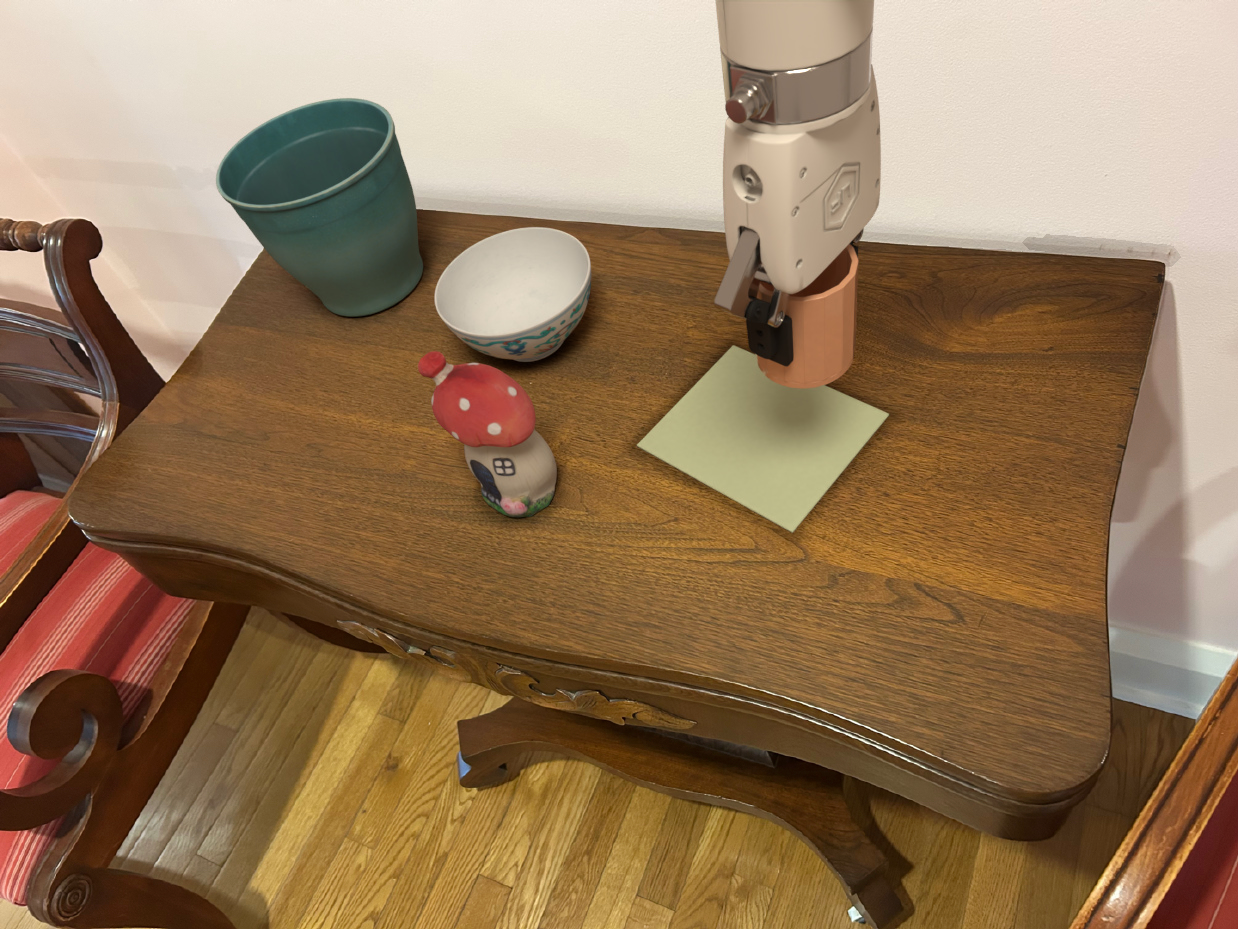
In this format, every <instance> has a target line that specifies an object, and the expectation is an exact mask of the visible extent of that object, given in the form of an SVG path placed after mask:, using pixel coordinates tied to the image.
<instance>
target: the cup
mask: <svg viewBox="0 0 1238 929" xmlns="http://www.w3.org/2000/svg"><path fill="white" fill-rule="evenodd" d="M859 262H860V261H859V257H858V258H857V255H856V253H855V250H854V248H853V246H851V245H850V244H848V245H847V247H846V248H845V249H844V250H843V251H842V252H841V253H840V254H839V255H838V256H837V257H836V258H835V259H834V260H833V261H832V262H831V263H830V264H829V266H828V267H827V268H826V269H825V270H824V271H823V272H822V273H821V274H820V275H819V276H818V277H817V278H816V279H815V280H814V281H813V282H812V283H811V284H809V285H808V286H807V287H806V288H804V289H803V290H801V291H799V292H797V293H794V294H790V296H789V301H788V305H787V309H786V313H785V315H788V316H790V317H791V318H792V330H793V353H794V357H793V361H792V363H791V364H790V365H789V366H783V365H781V364H778V363H776V362H774V361H772V360H769V359H764V358H762V357H760V356H758V355H757V354H755V355H756V361H757V364H758V366H759V368H760V370H761V371H762V373H763V374H764V375H765V376H766V377H767V378H769V379H770V380H772V381H773V382H775V383H777V384H780V385H782V386H786V387H790V388H799V389H805V388H815V387H819V386H823V385H825V386H827V385H828V384H831V383H832V382H835V381H837V380H838V379H840V378H841V377H842V376H843V375H844V374H845V373H846V372H848V370H849V369H850V367H851V366H852V364H853V362H854V359H855V352H856V345H857V322H858V321H857V320H858V291H859V290H858V289H859ZM762 265H763V264H762ZM773 291H774V286H773V285H771V284H768V283H765V282H763V281H760V285H759V289H758V294H757V298H758V299H761V300H763V301H766V302H768V303H771V300H772V295H773Z"/></svg>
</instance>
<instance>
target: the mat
mask: <svg viewBox="0 0 1238 929" xmlns="http://www.w3.org/2000/svg"><path fill="white" fill-rule="evenodd" d="M889 416H890V413H888V412H886V411H884V410H881V409H879V408H877V407H875V406H873V405H871V404H868V403H866V402H863V401H861V400H860V399H859V400H858V399H856V398H855V397H852V396H850V395H848V394H845V393H843V392H841V391H839V390H836V389H834V388H832V387H830V386H827V385H823V386H819V387H815V388H805V389H799V388H790V387H786V386H782V385H780V384H777V383H775V382H773V381H772V380H770V379H769V378H767V377H766V376H765V375H764V374H763V373H762V371H761V370H760V368H759V366H758V364H757V361H756V354H755V353H753V352H750V351H748V350H746V349H743V348H741V347H739V346H736V345H732V346H731V347H730V348H729V349H728V350H727V351H726V352H725V353H724V354H723V355H722V356H721V357H720V358H719V359H718V360H717V361H716V362H715V363H714V365H712V366H711V367H710V368H709V370H708V371H707V372H706V373H704V375H703V376H702V377H701V378H699V380H698V381H697V382H696V383H695V384H694V385H693V386H692V387H691V388H690V389H689V391H687V392H686V394H685V395H683V396H682V397H681V398H680V399H679V401H678V402H677V403H676V404H675V405H674V406H673V407H672V408H671V409H670V410H669V411H668V412H667V413H666V414H665V415H664V416H663V417H662V418H661V419H660V420H659V422H658V423H656V425H655V426H653V428H652V429H651V430H650V431H648V432H647V434H646V435H645V436H644V437H643V438H641V440H640V441H639V442H638V443H637V444H636V447H637V448H639V449H640V450H642V451H644V452H646V453H648V454H650V455H651V456H653V457H655V458H657V459H658V460H661V461H662V462H664V463H666V464H667V465H670V466H671V467H673V468H675V469H677V470H678V471H680V472H681V473H684V474H685V475H687V476H689V477H691V478H692V479H694V480H696V481H698V482H700V483H701V484H703V485H705V486H707V487H709V488H710V489H712V490H714V491H716V492H718V493H720V494H721V495H723V496H725V497H726V498H729V499H730V500H732V501H734V502H736V503H738V504H739V505H741V506H743V507H744V508H746V509H748V510H750V511H752V512H754V513H755V514H757V515H759V516H761V517H762V518H764V519H766V520H768V521H770V522H771V523H773V524H775V525H776V526H779V527H780V528H782V529H785V530H786V531H787V532H789V533H791V534H793V533H794V532H795V531H796V530H797V529H798V528H799V526H800V525H801V524H802V523H803V521H804V520H805V519H806V517H807V516H808V515H809V514H810V513H811V512H812V510H814V508H815V507H816V505H817V504H818V503H819V502H820V501H821V500H822V498H823V497H824V496H825V495H826V494H827V492H828V491H829V490H830V488H831V487H832V486H833V485H834V484H835V482H836V481H837V480H838V479H839V477H840V476H841V475H842V474H843V473H844V471H845V470H846V469H847V468H848V466H849V465H850V464H851V462H852V461H853V460H854V459H855V458H856V457H857V455H859V453H860V452H861V450H862V449H863V448H864V447H865V446H866V445H867V443H868V442H869V441H870V440H871V438H873V436H874V435H875V434H876V432H877V431H878V429H879V428H880V427H881V426H882V425H883V423H884V422H885V421H886V420H887V418H888V417H889Z"/></svg>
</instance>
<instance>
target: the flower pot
mask: <svg viewBox="0 0 1238 929" xmlns="http://www.w3.org/2000/svg"><path fill="white" fill-rule="evenodd" d="M215 184H216V185H215V186H216V188H217V191H218V193H219V195H220V196H221V197H222V199H223V200H225V201H226V202H227V203H228V204H230V206H231V207H232V209H233V210H234V211H235V212H236V214H237V215H238V217H239V218H240V219H241V220H242V221H243V222H244V224H245V225H246V226H247V227H248V229H249V231H250V232H251V233H252V234H253V236H254V237H255V238H256V240H257V241H258V242H259V244H260V245H261V246H262V247H263V249H264V250H265V251H266V252H267V253H268V255H269V256H270V257H271V258H272V259H273V260H274V261H275V263H277V264H278V265H279V266H280V267H281V268H282V269H283V270H284V271H285V272H286V273H288V274H289V275H290V276H292V277H293V278H294V279H295V280H297V281H298V282H299V283H301V285H303V286H305V287H306V288H307V289H308V290H310V291H311V292H312V293H313V294H314V295H316V297H318V298H319V300H320V301H321V303H322V304H323V306H324V307H325V308H326V309H327V310H328V311H329V312H331V313H333V314H335V315H339V316H341V317H342V316H343V317H349V318H350V317H351V318H352V317H354V318H355V317H363V316H364V317H365V316H370V315H373V314H376V313H380V312H382V311H385V310H386V309H390V308H391V307H393V306H395V305H396V304H398V303H399V302H401V301H402V300H403V299H405V298H406V297H407V296H408V295H410V294H411V292H412V291H413V290H414V289H415V288H416V286H417V285H418V283H419V282H420V280H421V278H422V276H423V272H424V262H423V259H422V256H421V253H420V247H419V234H418V213H417V205H416V199H415V198H416V197H415V193H414V190H413V185H412V182H411V179H410V175H409V172H408V170H407V167H406V162H405V160H404V158H403V155H402V150H401V145H400V143H399V140H398V136H397V134H396V125H395V122H394V118H393V117H392V115H391V113H390V112H389V110H388V109H387V108H386V107H384V106H382V105H381V104H379V103H377V102H374V101H371V100H368V99H364V98H355V97H354V98H353V97H343V98H341V97H340V98H332V99H325V100H321V101H315V102H310V103H306V104H304V105H301V106H297V107H295V108H292V109H290V110H288V111H285V112H283V113H281V114H279V115H276V116H274V117H272V118H270V119H269V120H266V121H264V122H263V123H261V124H260V125H258V126H257V127H255V128H254V129H252V130H250V131H249V132H248V133H247V134H245V135H244V136H243V137H241V138H240V139H239V140H238V141H236V142H235V144H233V145H232V147H231V148H230V149H229V150H228V151H227V153H226V154H225V155H224V156H223V158H222V160H221V162H220V163H219V165H218V167H217V171H216V175H215Z"/></svg>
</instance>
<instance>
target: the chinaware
mask: <svg viewBox="0 0 1238 929" xmlns="http://www.w3.org/2000/svg"><path fill="white" fill-rule="evenodd" d="M591 288H592V264H591V258H590V255H589V252H588V250H587V248H586V247H585V245H584V244H583V243H582V241H580V240H579V239H577V238H576V237H575V236H573V235H572V234H570V233H567V232H565V231H562V230H561V229H560V230H559V229H555V228H552V227H551V228H550V227H542V226H541V227H540V226H530V227H528V226H527V227H520V228H515V229H509V230H505V231H502V232H499V233H495V234H493V235H491V236H489V237H486V238H484V239H482V240H480V241H478V242H476V243H474V244H473V245H471V246H469V247H467V248H466V249H465V250H463V252H461V253H460V254H458V255H457V256H456V257H455V258H453V260H452V261H451V262H450V263H449V264H448V265H447V267H446V268H445V269H444V270H443V271H442V273H441V275H440V277H439V279H438V281H437V283H436V286H435V289H434V297H433V298H434V299H433V300H434V306H435V309H436V312H437V314H438V316H439V318H440V319H441V320H442V322H443V323H444V325H446V327H447V328H448V329H449V330H450V331H451V332H452V333H453V335H455V336H456V337H457V338H458V339H459V340H460V341H461V342H462V343H464V344H466V345H467V346H468V347H470V348H472V349H474V350H475V351H477V352H479V353H481V354H484V355H487V356H490V357H493V358H496V359H502V360H503V359H504V360H513V361H517V362H522V363H527V362H529V363H530V362H535V361H539V360H542V359H545V358H547V357H549V356H551V355H552V354H554V353H555V352H556V351H557V350H559V348H560V347H561V346H562V345H563V343H564V341H565V340H566V339H567V338H568V337H569V336H570V335H572V333H573V332H574V331H575V330H576V328H577V326H578V325H579V324H580V322H581V320H582V318H583V316H584V314H585V312H586V309H587V307H588V306H587V305H588V304H589V299H590V294H591Z"/></svg>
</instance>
